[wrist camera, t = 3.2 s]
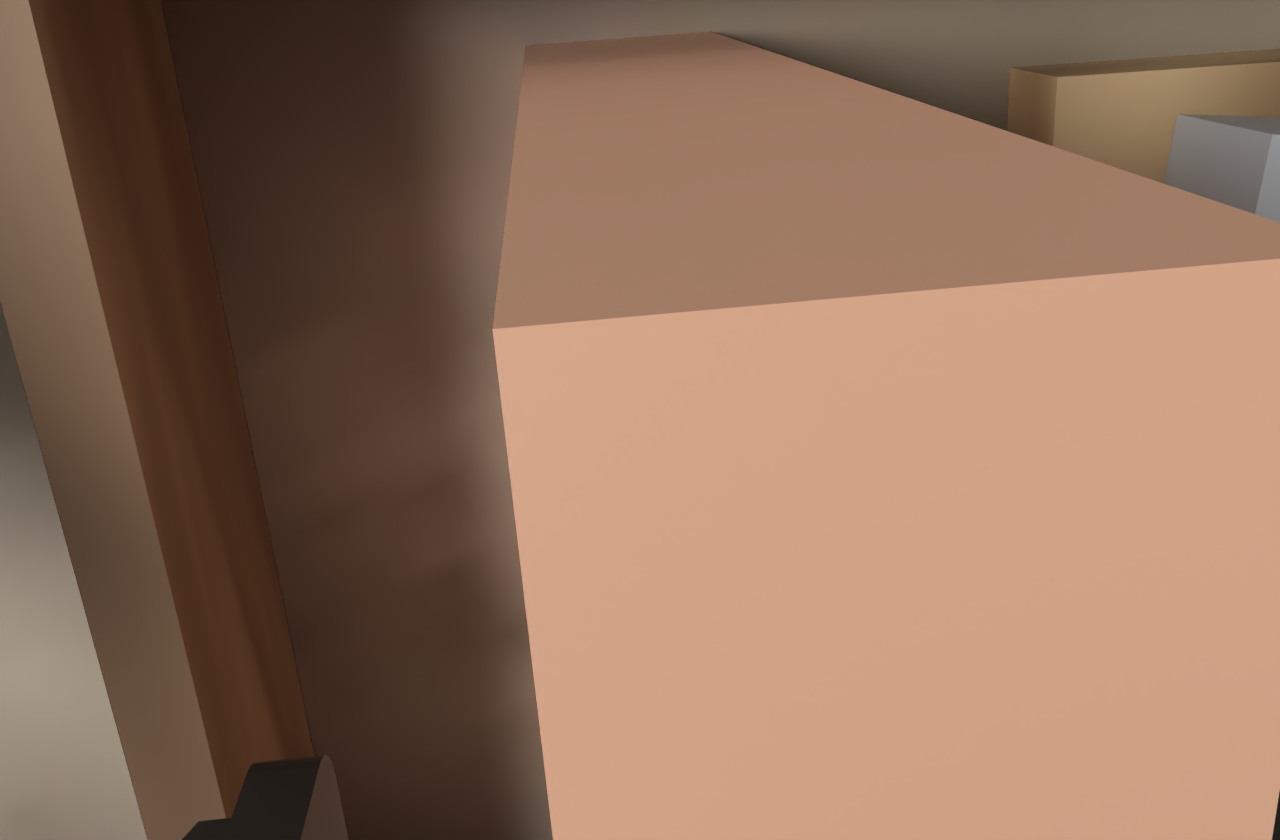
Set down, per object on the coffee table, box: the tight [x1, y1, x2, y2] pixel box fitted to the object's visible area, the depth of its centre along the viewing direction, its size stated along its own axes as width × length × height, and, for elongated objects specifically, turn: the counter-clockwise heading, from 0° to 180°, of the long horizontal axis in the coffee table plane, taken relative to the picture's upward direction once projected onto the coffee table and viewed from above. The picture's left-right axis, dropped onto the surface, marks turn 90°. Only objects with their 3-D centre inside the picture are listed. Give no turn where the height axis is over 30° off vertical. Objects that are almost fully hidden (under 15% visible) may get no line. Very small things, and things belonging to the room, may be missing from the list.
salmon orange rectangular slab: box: [492, 32, 1280, 840], centre depth 14 cm, size 3×14×16 cm, turn 4°
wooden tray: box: [0, 0, 314, 840], centre depth 19 cm, size 25×20×5 cm
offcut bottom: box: [1007, 49, 1280, 184], centre depth 21 cm, size 9×12×2 cm
